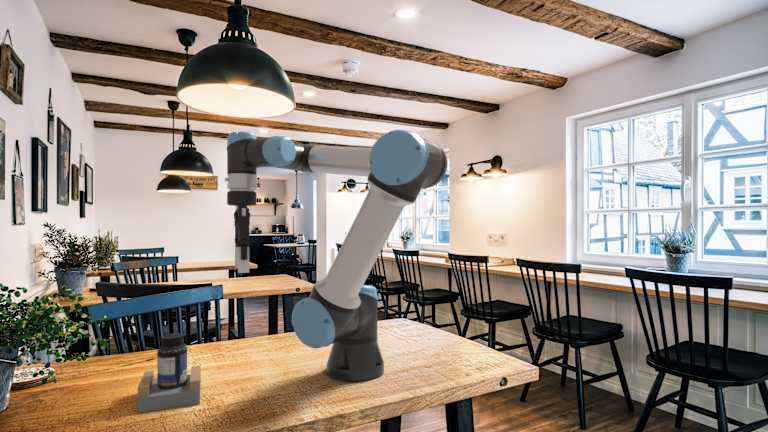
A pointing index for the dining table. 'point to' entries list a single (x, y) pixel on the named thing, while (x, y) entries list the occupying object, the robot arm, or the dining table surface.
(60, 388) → the dining table surface
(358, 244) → the robot arm
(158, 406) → the display plinth
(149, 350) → the dining table surface
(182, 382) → the pill bottle
